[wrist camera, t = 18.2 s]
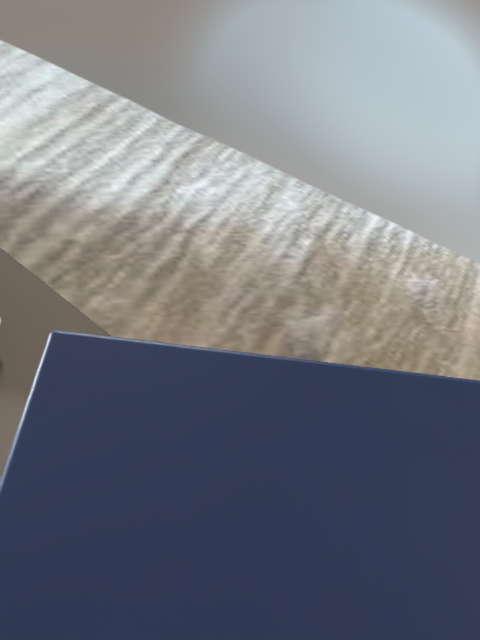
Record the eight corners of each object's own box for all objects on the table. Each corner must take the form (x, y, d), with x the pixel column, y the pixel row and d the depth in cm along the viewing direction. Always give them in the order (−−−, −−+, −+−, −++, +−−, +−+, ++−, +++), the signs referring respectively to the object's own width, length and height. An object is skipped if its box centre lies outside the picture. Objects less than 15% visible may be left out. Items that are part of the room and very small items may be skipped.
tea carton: (79, 732, 10) (-381, 1574, 2) (125, 489, 13) (47, 323, 4) (287, 739, 11) (785, 1409, 2) (287, 503, 13) (496, 377, 5)
